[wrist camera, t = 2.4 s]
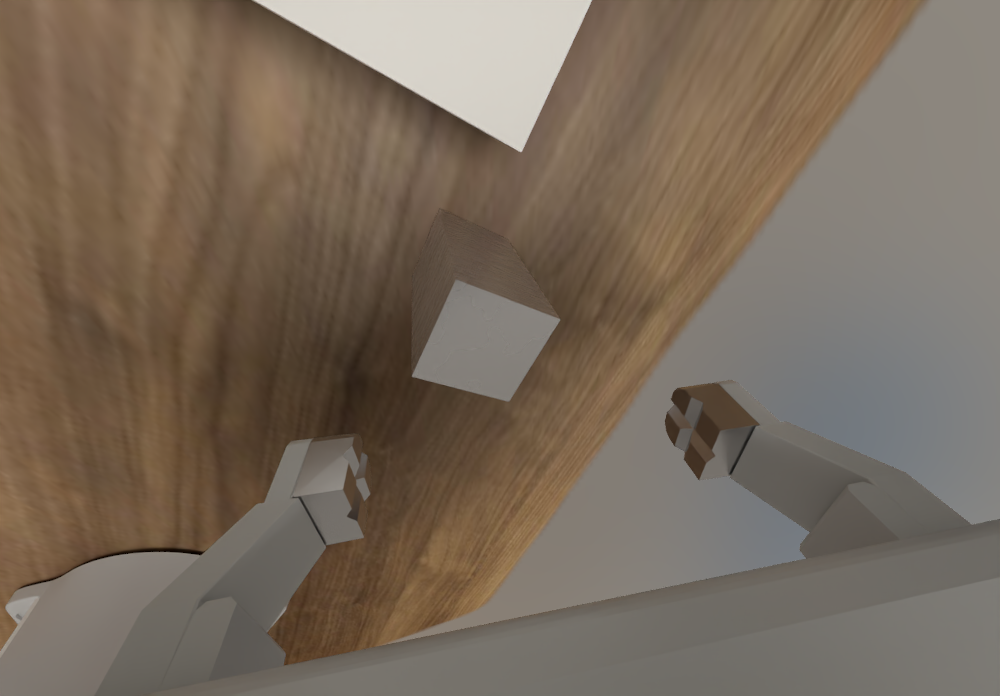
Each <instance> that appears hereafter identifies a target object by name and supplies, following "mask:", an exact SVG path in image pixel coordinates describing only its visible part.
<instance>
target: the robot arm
mask: <svg viewBox="0 0 1000 696" xmlns="http://www.w3.org/2000/svg"><path fill="white" fill-rule="evenodd" d="M671 400H672V401H673V403H674V406H673V407H672V408H671V409H670V410H669V411H668V412H667V415H666V419H665V425H666V431H667V434H668V436H669V438H670V440H671V441H672V443H673V444H674V446H676V447H677V448H679V449H681V450H683V451H684V452H685V455H684V460H685V461H686V463H687V464H688V466H689V467H690V468H691V470H692V471H693V472H694V474H695V475H696V477H697V478H698V480H704V479H712V478H719V477H726V476H731V477H730V478H731V479H733V480H734V481H736V482H737V483H739V484H740V485H742V486H743V487H744V488H746V489H748V490H749V491H750V492H752V493H753V494H755V495H756V496H758V497H759V498H761V499H762V500H763V501H765V502H766V503H768V504H769V505H771V506H772V507H774V508H775V509H777V510H778V511H780V512H781V513H783V514H784V515H786V516H787V517H788V518H790V519H791V520H793V521H794V522H796V523H797V524H799V525H800V526H802V527H803V528H804V529H806V530H807V531H809V532H810V533H809V534H808V535H807V537H806V538H805V539H804V540H803V542H802V543H801V544H800V551H801V552H802V554H803V555H804V556H805V557H806V559H802V560H797V561H792V562H788V563H782V564H777V565H773V566H768V567H763V568H758V569H753V570H748V571H743V572H738V573H734V574H729V575H724V576H719V577H714V578H709V579H705V580H699V581H695V582H690V583H685V584H680V585H675V586H670V587H665V588H661V589H656V590H650V591H646V592H641V593H636V594H631V595H626V596H621V597H616V598H611V599H607V600H602V601H597V602H592V603H587V604H582V605H577V606H572V607H567V608H563V609H558V610H553V611H548V612H543V613H538V614H534V615H529V616H524V617H518V618H514V619H509V620H504V621H499V622H494V623H489V624H484V625H479V626H475V627H470V628H465V629H460V630H455V631H451V632H445V633H440V634H436V635H431V636H426V637H421V638H416V639H412V640H407V641H402V642H397V643H392V644H387V645H382V646H377V647H372V648H367V649H363V650H358V651H353V652H348V653H343V654H338V655H333V656H328V657H324V658H319V659H314V660H309V661H304V662H299V663H294V664H289V665H285V666H283V665H284V661H285V656H286V653H285V652H284V650H283V649H282V647H281V646H280V645H279V644H278V643H277V642H276V641H275V640H274V639H273V638H272V637H271V636H270V635H269V634H268V633H267V632H268V631H269V629H270V628H271V627H272V626H273V625H274V624H275V622H276V621H277V620H278V619H279V618H280V617H281V616H282V614H283V613H284V612H285V611H286V609H287V606H288V603H289V600H290V599H291V597H292V596H293V594H294V593H295V591H296V590H297V589H298V587H299V586H300V584H301V583H302V581H303V580H304V579H305V577H306V576H307V574H308V573H309V571H310V570H311V569H312V567H313V566H314V564H315V563H316V561H317V560H318V559H319V557H320V556H321V554H322V553H323V551H324V550H325V549H326V546H325V545H330V544H335V543H340V542H345V541H350V540H355V539H360V538H364V535H365V529H366V522H367V515H368V510H367V507H366V504H365V502H364V501H365V500H366V499H367V498H368V496H369V495H370V493H371V484H372V477H371V466H370V462H369V459H368V456H367V455H366V454H364V453H362V448H363V441H362V439H361V436H360V434H358V433H352V434H344V435H335V436H326V437H318V438H313V439H304V440H295V441H291V442H290V443H289V444H288V445H287V446H286V449H285V451H284V454H283V456H282V459H281V461H280V464H279V466H278V469H277V471H276V474H275V476H274V479H273V481H272V484H271V486H270V489H269V491H268V494H267V496H266V499H265V501H264V503H260V504H256V505H255V506H254V507H253V508H252V509H251V510H250V511H249V512H248V513H246V514H245V515H244V516H243V517H242V518H241V519H240V520H239V521H238V522H237V523H236V524H235V525H233V526H232V527H231V528H230V529H229V530H228V531H227V532H226V533H225V534H224V535H223V536H222V537H220V538H219V539H218V540H217V541H216V542H215V543H214V544H213V545H212V546H211V547H210V548H209V549H207V550H206V551H205V552H204V553H203V554H202V555H195V554H187V553H175V552H143V553H131V554H123V555H117V556H112V557H107V558H103V559H99V560H95V561H92V562H89V563H87V564H84V565H82V566H79V567H77V568H75V569H73V570H72V571H70V572H68V573H67V574H65V575H63V576H61V577H60V578H58V579H55V580H53V581H49V582H44V583H40V584H35V585H31V586H27V587H24V588H21V589H19V590H17V591H15V592H14V594H13V595H12V597H11V598H10V600H9V601H8V603H7V605H6V607H5V609H6V611H7V612H8V613H9V614H10V616H11V617H12V618H13V619H14V620H15V622H16V623H17V624H18V626H17V627H16V629H15V630H14V632H13V633H12V635H11V636H10V638H9V639H8V641H7V642H6V643H5V645H4V646H3V648H2V649H1V651H0V696H1000V519H997V520H992V521H987V522H983V523H978V524H973V525H972V524H970V523H969V522H968V521H966V520H965V519H964V518H963V517H961V516H960V515H959V514H958V513H956V512H955V511H954V510H953V509H951V508H950V507H949V506H948V505H946V504H945V503H944V502H942V501H941V500H940V499H939V498H937V497H936V496H935V495H934V494H932V493H931V492H930V491H928V490H927V489H926V488H925V487H924V486H922V485H921V484H920V483H918V482H917V481H916V480H915V479H913V478H912V477H911V476H909V475H908V474H907V473H906V472H903V471H901V470H899V469H896V468H894V467H891V466H889V465H887V464H885V463H882V462H880V461H878V460H875V459H873V458H871V457H868V456H866V455H863V454H861V453H859V452H857V451H854V450H852V449H849V448H847V447H845V446H842V445H840V444H838V443H835V442H833V441H831V440H828V439H826V438H824V437H821V436H819V435H817V434H814V433H812V432H810V431H807V430H805V429H803V428H800V427H798V426H796V425H793V424H791V423H789V422H780V421H779V420H778V419H777V418H775V417H774V416H773V415H772V414H771V413H770V412H769V411H768V410H767V409H766V408H765V407H764V406H762V405H761V404H760V403H759V402H758V401H757V400H756V399H755V398H754V397H753V396H752V395H751V394H749V393H748V392H747V391H746V390H745V389H744V388H743V387H742V386H741V385H740V384H739V383H737V382H735V381H733V380H728V381H721V382H714V383H708V384H701V385H694V386H688V387H681V388H677V389H676V390H675V391H674V392H673V395H672V398H671Z"/></svg>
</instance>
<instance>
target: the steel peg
mask: <svg viewBox="0 0 1000 696" xmlns="http://www.w3.org/2000/svg"><path fill="white" fill-rule="evenodd" d="M560 320H561V319H560V318H559V316H558V315H557V313H556V312H555V310H554V309H553V307H552V306H551V304H550V303H549V301H548V300H547V298H546V296H545V295H544V293H543V292H542V290H541V289H540V287H539V286H538V284H537V283H536V281H535V280H534V278H533V277H532V275H531V274H530V272H529V271H528V269H527V268H526V266H525V265H524V263H523V262H522V260H521V259H520V257H519V255H518V254H517V252H516V251H515V249H514V248H513V246H512V245H511V243H510V242H509V240H508V239H506V238H504V237H502V236H500V235H497V234H495V233H493V232H491V231H489V230H486V229H484V228H482V227H480V226H478V225H475V224H473V223H471V222H469V221H467V220H464V219H462V218H460V217H458V216H456V215H453V214H451V213H449V212H447V211H445V210H442V209H440V208H439V210H438V212H437V215H436V217H435V220H434V222H433V225H432V227H431V230H430V232H429V235H428V237H427V240H426V242H425V245H424V248H423V250H422V253H421V255H420V258H419V260H418V263H417V265H416V268H415V270H414V273H413V275H412V377H415V378H419V379H423V380H427V381H430V382H434V383H438V384H442V385H446V386H450V387H454V388H458V389H461V390H465V391H469V392H473V393H477V394H481V395H485V396H488V397H492V398H496V399H500V400H504V401H508V402H509V401H510V399H511V398H512V396H513V395H514V393H515V391H516V390H517V388H518V387H519V385H520V383H521V382H522V380H523V379H524V377H525V375H526V374H527V372H528V371H529V369H530V367H531V366H532V364H533V363H534V361H535V359H536V358H537V356H538V355H539V353H540V351H541V350H542V348H543V347H544V345H545V344H546V342H547V340H548V339H549V337H550V336H551V334H552V332H553V331H554V329H555V328H556V326H557V324H558V323H559V321H560Z"/></svg>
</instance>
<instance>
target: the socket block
mask: <svg viewBox="0 0 1000 696" xmlns="http://www.w3.org/2000/svg"><path fill="white" fill-rule="evenodd" d="M252 1H253V2H255V3H257V4H259V5H260V6H262V7H264V8H266V9H267V10H269V11H271V12H273V13H274V14H276V15H278V16H280V17H281V18H283V19H285V20H287V21H288V22H290V23H292V24H294V25H296V26H297V27H299V28H301V29H303V30H304V31H306V32H308V33H310V34H311V35H313V36H315V37H317V38H318V39H320V40H322V41H324V42H325V43H327V44H329V45H331V46H333V47H334V48H336V49H338V50H340V51H341V52H343V53H345V54H347V55H348V56H350V57H352V58H354V59H355V60H357V61H359V62H361V63H362V64H364V65H366V66H368V67H369V68H371V69H373V70H375V71H377V72H378V73H380V74H382V75H384V76H385V77H387V78H389V79H391V80H392V81H394V82H396V83H398V84H399V85H401V86H403V87H405V88H406V89H408V90H410V91H412V92H413V93H415V94H417V95H419V96H421V97H422V98H424V99H426V100H428V101H429V102H431V103H433V104H435V105H436V106H438V107H440V108H442V109H443V110H445V111H447V112H449V113H450V114H452V115H454V116H456V117H457V118H459V119H461V120H463V121H465V122H466V123H468V124H470V125H472V126H473V127H475V128H477V129H479V130H480V131H482V132H484V133H486V134H487V135H489V136H491V137H493V138H495V139H497V140H498V141H500V142H502V143H504V144H506V145H508V146H510V147H512V148H514V149H516V150H517V151H519V152H522V150H523V148H524V146H525V144H526V141H527V139H528V137H529V135H530V133H531V131H532V129H533V126H534V124H535V122H536V120H537V118H538V116H539V113H540V111H541V109H542V107H543V105H544V103H545V101H546V98H547V96H548V94H549V92H550V90H551V88H552V85H553V83H554V81H555V79H556V77H557V75H558V73H559V70H560V68H561V66H562V64H563V62H564V60H565V57H566V55H567V53H568V51H569V49H570V47H571V44H572V42H573V40H574V38H575V36H576V34H577V32H578V29H579V27H580V25H581V23H582V21H583V19H584V16H585V14H586V12H587V10H588V8H589V6H590V4H591V1H592V0H252Z"/></svg>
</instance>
